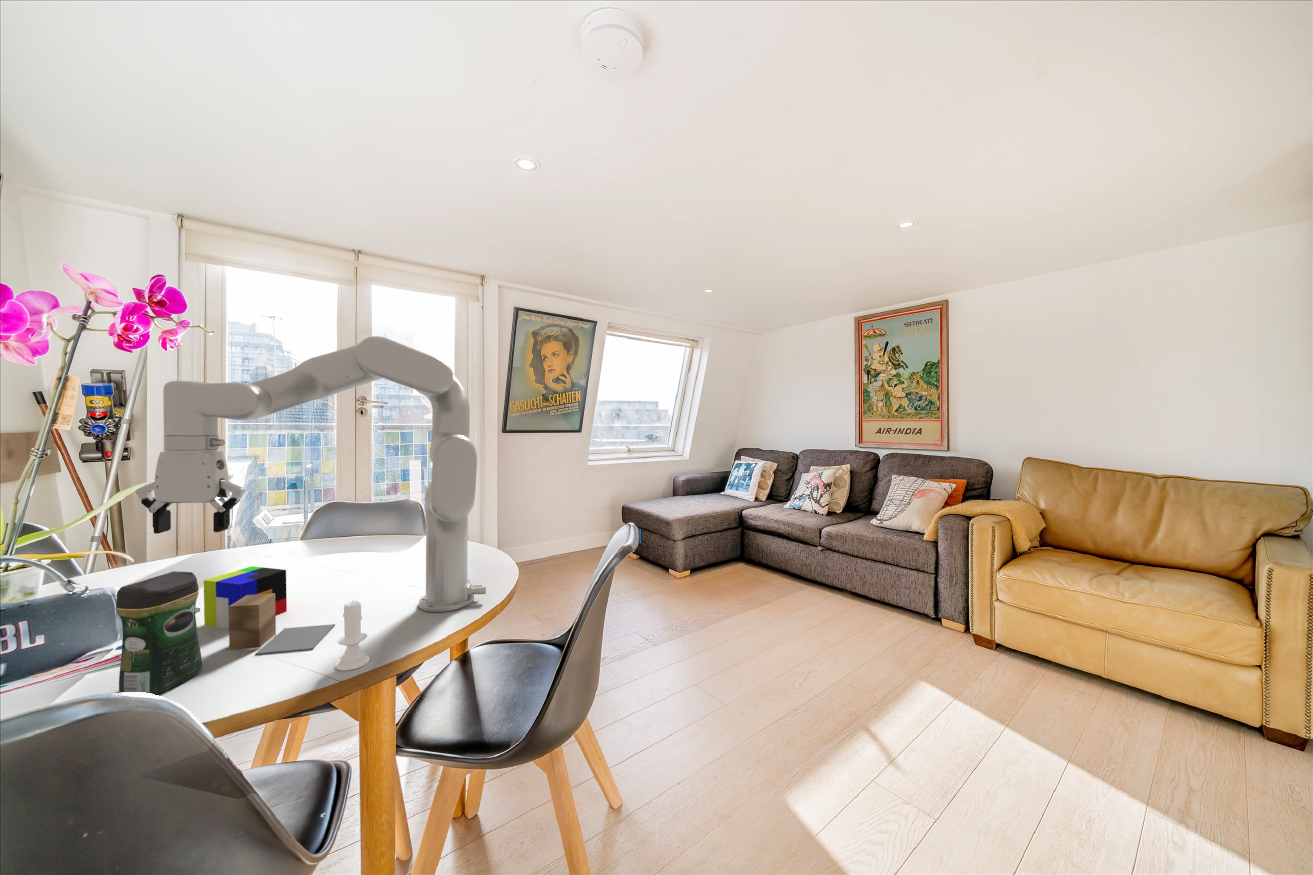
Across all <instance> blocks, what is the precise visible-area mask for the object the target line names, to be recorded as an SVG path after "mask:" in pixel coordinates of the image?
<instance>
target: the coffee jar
mask: <svg viewBox="0 0 1313 875" xmlns="http://www.w3.org/2000/svg"><path fill="white" fill-rule="evenodd" d="M199 591H200V590H199V583H198V579H197V576H196V575H195V573H193V572H192V571H175V570H173V571H170V572H167V573H164V574H160V575H158V576H154V577H151V578H147V579H144V580H141V581H138V582H135V583H131V584H127V585H124V586H121V587H120V588H119V589H118V590H117V592H116V602H115V603H116V604H115V611H116V613H117V616H118V617H119V618H120V620H121V626H122V639H121V640H122V642H121V643H122V644H121V658H120V667H119V673H118V692H119V693H120V692H146V693H153V694H152V695H156V694H160V693H162V692H165V691H166V690H170V689H171V688H173V687H176V686H177V685H179V684H181V683H183V682H185V681H187V680H188V679H190V678H191V677H193V676H196V674H198V673H199V672H200V671H201V670H202V667H203V661H202V659H203V658H202V653H201V652H202V651H201V647H200V641H199V634H198V626H197V619H196V618H197V617H196V607H197V599H198V597H199Z"/></svg>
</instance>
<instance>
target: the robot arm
mask: <svg viewBox="0 0 1313 875" xmlns="http://www.w3.org/2000/svg"><path fill="white" fill-rule="evenodd" d="M381 379H384V380H387V381H389V382H393V383H396V384H399V385H401V386H404V387H406V388H407V387H408V388H409V389H413V390H415V391H416V392H418V393H419V394H422V395H423V396H425V397H426V398H427V399H428V400H429V402H430V405H431V409H432V420H431V422H432V424H431V427H432V428H431V440H430V447H429V453H428V454H429V459H430V461H431V463H432V466H431V467H432V468H431V482H430V484H429V485H428V487H427V488H426V491H425V494H424V511H425V512H424V514H425V595H423V596H421V598H420V599H419V601H418V607H419V608H420V609H421V610H423V611H426V612H429V613H441V612H443V613H445V612H451V611H455V610H456V611H457V610H459V609H462V608H465V607H466V606H469V605H470V604H472V603H473V601H474V600H475V595H478V596H479V595H486V594H487V586H486V585H485V586H484V585H483V584H482V583H480V584H479V583H478V584H473V583H471V579H469V578H468V570H469V569H468V566H469V565H468V562H469V561H468V556H469V554H468V552H469V551H468V546H469V545H468V544H469V542H468V540H469V529H468V528H469V527H468V525H469V522H468V515H469V514H470V513H471V511H472V509H473V508H474V505H475V500H476V498H475V497H476V489H477V488H476V487H477V486H476V485H477V469H478V455H477V448H476V446H475V445H474V443H473V441H472V440H471V439H470V429H471V428H470V427H471V426H470V425H471V424H470V420H471V418H470V417H471V410H470V408H471V407H470V401H469V397H468V394H467V392H466V391H465V388H464V387H463V386H462V384H461V383H460V381H459V380H458V379H457V378H456V377H455V376H454V373H453V370H452V368H451V366H450V365H449V364H448V363H447V362H446V361H444V359H441V358H440V357H437V356H435V355H431V354H428V353H426V352H423V351H422V350H421V351H420V350H419V349H415V348H413V347H410V346H407V345H405V344H402V343H400V342H398V341H395V340H392V339H389V338H387V337H384V336H378V335H377V336H375V335H374V336H368V337H366V338H364V339H363V340H361V341H360V342H359V343H358V344H356V345H352V346H349V347H346V348H343V349H339V350H335V351H333V352H329V353H325V354H322V355H321V354H320V355H318V356H317V355H316V356H314V357H310V358H308V359H307V360H305V361H302V362H301V363H300V364H299V365H296V366H295V367H294V368H292V369H290V370H288V371H285V372H283V373H280V374H276V375H273V376H271V377H267V378H264V379H261V380H257V381H254V382H249V383H247V382H240V381H239V382H234V381H233V382H217V383H216V382H215V383H211V382H204V381H195V380H194V381H191V380H171V381H167V382H166V383H165V384H164V385H163V389H162V391H163V394H162V396H163V397H162V398H163V403H162V405H163V407H162V408H163V409H162V410H163V416H162V418H163V451H160V452H159V455H158V459H157V462H156V466H155V467H156V468H155V472H154V481H153V482H151V483H149V484H146V485H144V486H142V487H139V488H137V489H135V494H136V495H137V497H138V499H139V500H140V503H141V505H143V506H144V507H146V508H147V511H148V512H149V513H150V514H152V528H153V534H155V535H156V534H161V533H165V532H168V531H170V530H171V528H172V527H171V526H172V525H171V524H172V515H171V514H172V512H171V509H168V508H169V507H171V505H172V504H202V503H204V504H205V503H206V504H207V503H209V505H211V507H213V508H214V509H215V510H216V512H213V519H212V520H213V522H212V523H213V525H212V526H213V529H212V530H213V532H214V533H220V532H223V531H226V530H228V529H229V526H230V522H231V521H230V519H231V518H230V513H231V512H230V511H231V510H232V509H234V507H235V506H236V505H237V504H239V503H240V500H241V499H242V497H243V495H244V494H245V492H246V489H245V488H244V487H241V486H239V485H238V484H235V483H234V482H233V483H232V482H230V477H229V469H228V465H227V459H226V457H225V456H226V455H225V453H224V451H221V450H219V447H224V446H225V445H226V441H225V439H221V438H220V437H219V427H218V426H219V420H218V419H227V420H236V421H248V420H257V419H260V418H263V417H267V416H269V415H273V414H276V413H278V412H282V411H285V410H287V409H291V408H293V407H296V406H299V405H303V404H305V403H309V402H313V401H315V400H321V399H325V398H326V397H329V396H333V395H335V394H338V393H341V392H346V391H347V390H349V389H350V390H351V389H354V388H356V387H359V386H362V385H365V384H370V383H372V382H375V381H379V380H381ZM152 492H154V497H153V494H152ZM230 494H231V495H230ZM229 496H230V497H229ZM228 497H229V498H228ZM227 498H228V499H227Z"/></svg>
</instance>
